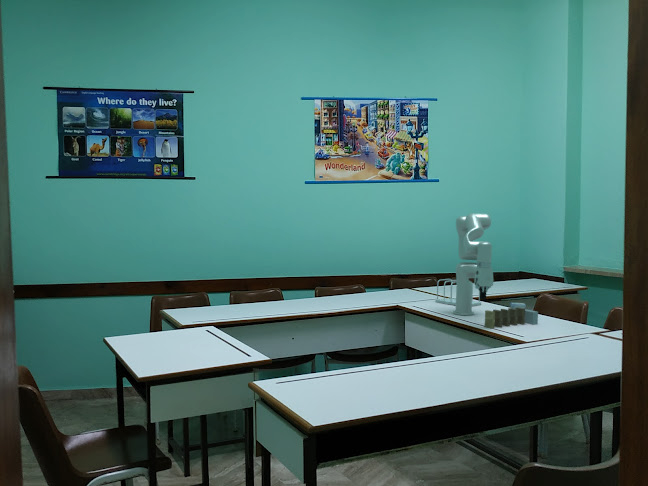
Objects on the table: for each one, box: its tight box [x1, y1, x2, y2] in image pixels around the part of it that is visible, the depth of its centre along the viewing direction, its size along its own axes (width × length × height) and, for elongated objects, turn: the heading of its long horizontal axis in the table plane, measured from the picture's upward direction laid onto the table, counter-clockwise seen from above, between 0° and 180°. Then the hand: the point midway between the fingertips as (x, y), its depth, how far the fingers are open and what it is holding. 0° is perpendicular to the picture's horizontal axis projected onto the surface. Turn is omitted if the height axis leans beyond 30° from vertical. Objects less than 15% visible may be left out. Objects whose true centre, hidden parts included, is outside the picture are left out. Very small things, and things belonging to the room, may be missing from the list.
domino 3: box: [500, 308, 511, 328], centre depth 348 cm, size 2×5×9 cm, turn 32°
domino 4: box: [507, 307, 518, 327], centre depth 351 cm, size 2×5×9 cm, turn 32°
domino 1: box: [484, 309, 495, 329], centre depth 342 cm, size 2×5×9 cm, turn 32°
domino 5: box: [515, 307, 526, 326], centre depth 354 cm, size 2×5×9 cm, turn 31°
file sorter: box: [435, 278, 482, 307], centre depth 421 cm, size 25×17×16 cm
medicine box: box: [510, 302, 527, 309], centre depth 373 cm, size 8×4×9 cm, turn 84°
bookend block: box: [525, 308, 539, 326], centre depth 358 cm, size 4×10×7 cm, turn 32°
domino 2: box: [492, 309, 503, 328], centre depth 345 cm, size 2×5×9 cm, turn 32°
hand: (482, 299), depth 337 cm, fingers closed
